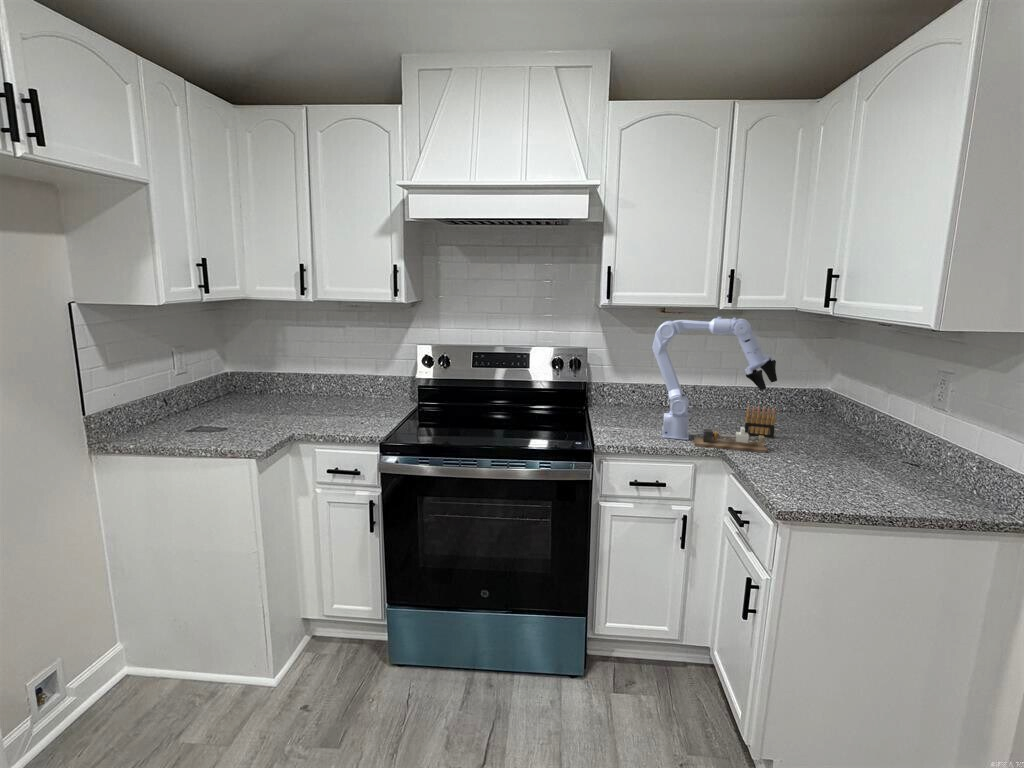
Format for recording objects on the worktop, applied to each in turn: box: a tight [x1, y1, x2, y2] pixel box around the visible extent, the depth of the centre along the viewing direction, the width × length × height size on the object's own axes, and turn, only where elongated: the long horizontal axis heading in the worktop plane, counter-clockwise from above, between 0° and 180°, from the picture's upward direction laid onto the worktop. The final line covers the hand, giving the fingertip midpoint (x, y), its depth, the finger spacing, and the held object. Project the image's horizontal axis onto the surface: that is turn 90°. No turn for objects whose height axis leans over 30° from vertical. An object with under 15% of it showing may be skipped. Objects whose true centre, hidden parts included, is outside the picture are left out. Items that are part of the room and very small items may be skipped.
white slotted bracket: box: [734, 426, 750, 443], centre depth 198 cm, size 4×3×5 cm
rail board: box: [693, 428, 768, 454], centre depth 200 cm, size 24×9×5 cm, turn 74°
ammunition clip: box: [743, 404, 776, 439], centre depth 212 cm, size 11×2×12 cm, turn 70°
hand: (768, 385), depth 196 cm, fingers open, 7 cm apart
